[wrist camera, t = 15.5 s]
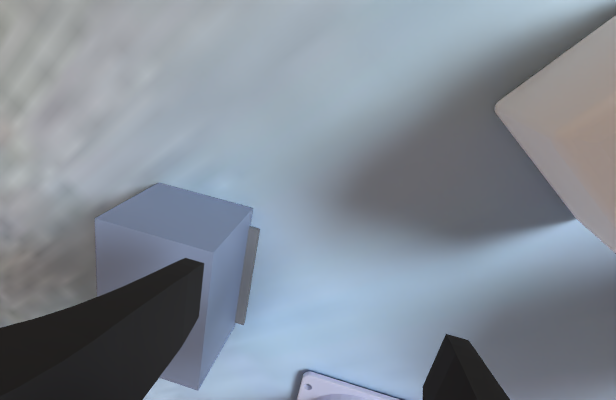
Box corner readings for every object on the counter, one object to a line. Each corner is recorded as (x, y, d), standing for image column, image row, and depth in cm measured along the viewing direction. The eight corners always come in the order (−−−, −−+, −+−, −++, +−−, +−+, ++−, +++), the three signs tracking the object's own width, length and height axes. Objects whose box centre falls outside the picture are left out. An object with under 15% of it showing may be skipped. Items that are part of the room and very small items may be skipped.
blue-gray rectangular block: (235, 325, 25) (198, 390, 20) (153, 300, 25) (99, 357, 21) (252, 208, 21) (213, 252, 17) (158, 182, 22) (94, 218, 17)
